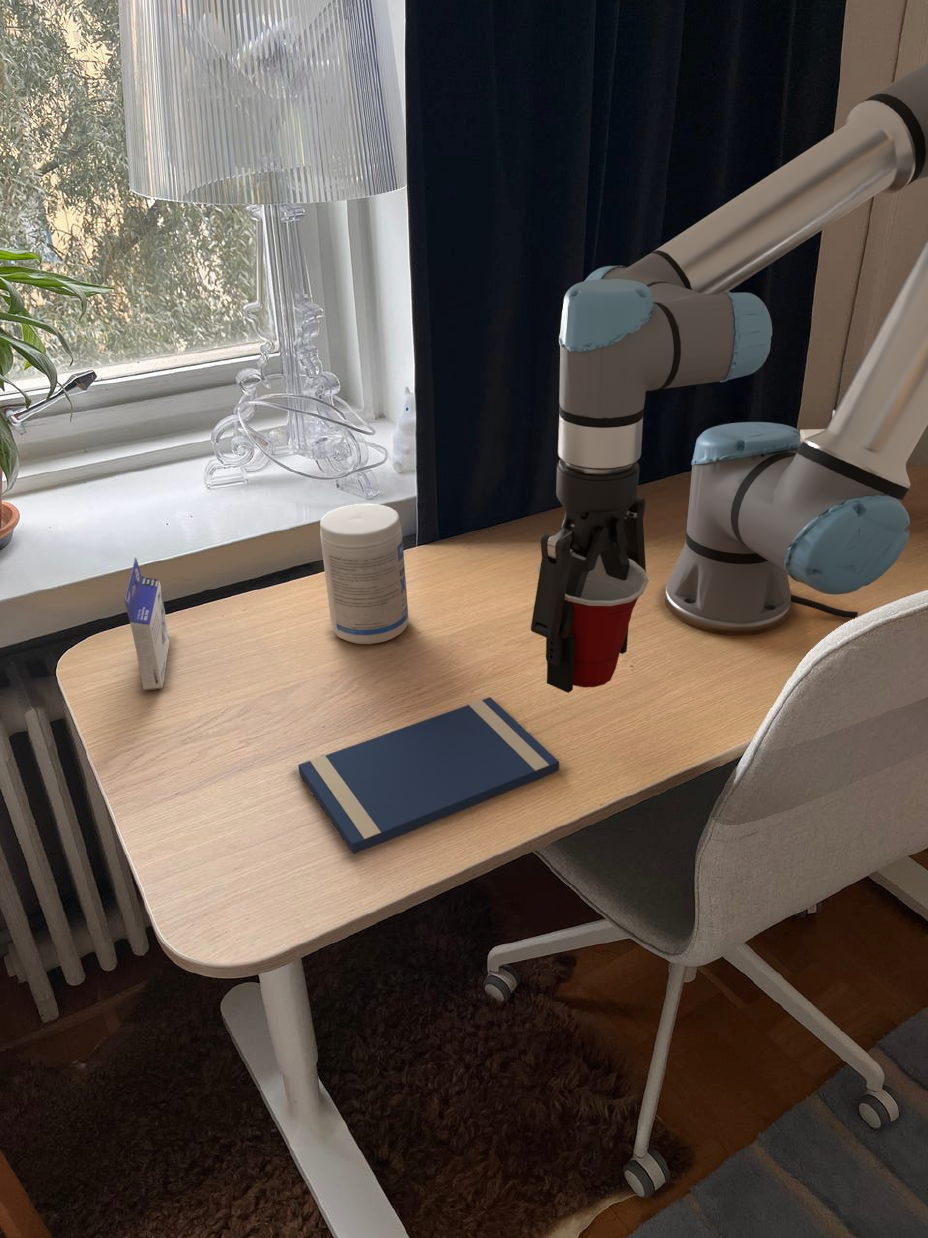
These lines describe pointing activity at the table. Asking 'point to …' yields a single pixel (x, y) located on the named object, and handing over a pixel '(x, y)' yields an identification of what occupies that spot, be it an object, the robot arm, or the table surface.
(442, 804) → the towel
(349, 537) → the supplement tub
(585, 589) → the plastic cup
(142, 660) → the ink box
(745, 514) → the robot arm
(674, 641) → the table surface
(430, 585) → the table surface
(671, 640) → the table surface
